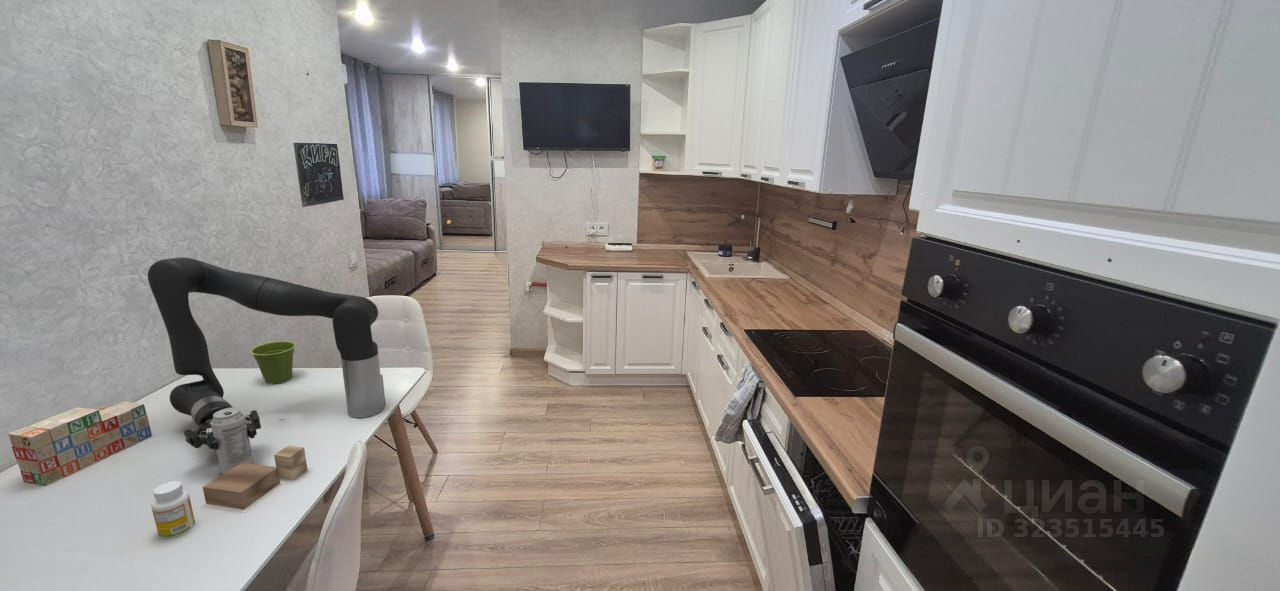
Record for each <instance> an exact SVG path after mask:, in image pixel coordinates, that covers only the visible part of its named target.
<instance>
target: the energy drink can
mask: <svg viewBox="0 0 1280 591" xmlns="http://www.w3.org/2000/svg"><path fill="white" fill-rule="evenodd" d="M211 426H212V431H213V436H214V438H215V439H216V440H217V443H218V448H219V449H218V450H215V451H216V455H217V459H218V464H219V469H220V473H221V475H223V474H224V473H226V472H228V471H229V470H231V469H232V468H234V467H236V466H237V465H239V464H240V463H249V464H255V462H254V458H253V453H252V446H251V440H250V437H249V435H248V430H247V424H246V419H245V414H244V413H243V411H242V410H241V408H240V407H236V406H234V407H233V406H232V408H226V409H222V410H219V411H217V412H215V413H214V414H213V419H212V421H211Z"/></svg>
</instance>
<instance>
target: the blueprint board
mask: <svg viewBox="0 0 1280 591" xmlns="http://www.w3.org/2000/svg"><path fill="white" fill-rule="evenodd" d="M286 483H287V481H284V480H280V484H278V485H277V486H276V487H274V488H273V489H272V490H270V491H269V492H267V493H266V494H265V495H263V496H262V497H260V498H259V499H258V500H256V501H255V502H254V503H252V504H251V505H249V506H248V507H247V508H245V509H237V508H231V507H224V506H218V505H211V504H206V503H205V504H203V505H202V507H207V508H212V509H213V508H214V509H219V510H224V511H225V510H226V511H233V512H238V513H239V512H240V513H247V512H248V511H250V510H251V509H252V508H253V507H256V505H258V504H259V503H260V502H262V501H263V500H265V499H266V498H267V497H269V496H270V495H271V494H272V493H274V492H276V490H278V489H279V488H281V487H282V486H284V485H285V484H286Z"/></svg>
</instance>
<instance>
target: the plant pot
mask: <svg viewBox="0 0 1280 591" xmlns="http://www.w3.org/2000/svg"><path fill="white" fill-rule="evenodd" d="M296 346H297V344H296V342H293V341H288V340H287V341H285V340H283V341H282V340H279V341H271V342H266V343H263V344H259V345H256V346H254V347H253V348H252V349H250V351H249V352H250V354H251V355H253V358H254V360H255V361H256V362H257V365H258V367H259V371H260V373H261V375H262V378H263V380H264V382H265V383H266V384H267V383H268V384H269V385H279V384H284V383H286V382H287V381H288V380H289V381H290V380H291V379H292V378H293V365H294V353H295V348H296ZM283 382H284V383H283ZM278 383H279V384H278Z"/></svg>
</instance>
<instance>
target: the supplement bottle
mask: <svg viewBox="0 0 1280 591" xmlns="http://www.w3.org/2000/svg"><path fill="white" fill-rule="evenodd" d="M152 494H153V497H154V499H153V501H152V502H151V511H152V516H153V518H154V523H155V526H156V527H155V528H156V530H157V535H158V536H159V537H160V538H161V539H171V538H172V539H173V538H174V537H178V536H182V535H183V534H185V533H188V532H189V531H190V530H191V529H193V528H194V527H195V525H196V519H195V515H194V511H193V507H192V502H191V498H190V495H189V494H190V493H189V492H188V491H187V490H184V489H183V485H182V482H181V481H180V480H174V481H173V480H172V481H168V482H165V483H161V484H160V485H158V486H156V488H154V489H153V493H152Z"/></svg>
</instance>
